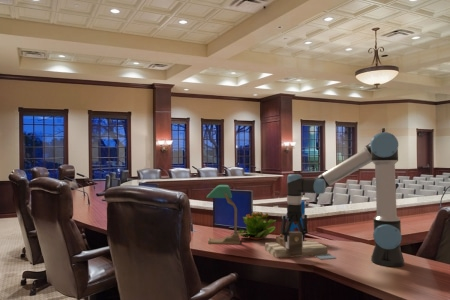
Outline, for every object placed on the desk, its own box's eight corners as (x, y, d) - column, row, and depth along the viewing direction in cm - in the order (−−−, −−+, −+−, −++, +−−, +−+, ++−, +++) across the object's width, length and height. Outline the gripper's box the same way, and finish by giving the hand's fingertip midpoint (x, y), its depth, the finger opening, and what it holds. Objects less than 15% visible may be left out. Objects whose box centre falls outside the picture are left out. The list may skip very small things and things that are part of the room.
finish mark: (336, 258, 185) (336, 257, 185) (320, 259, 183) (320, 258, 183) (328, 254, 192) (328, 253, 192) (313, 255, 190) (313, 254, 190)
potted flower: (245, 232, 247) (246, 207, 248) (279, 235, 239) (279, 209, 240) (234, 240, 224) (234, 212, 224) (271, 244, 216) (271, 215, 216)
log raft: (327, 254, 193) (327, 247, 193) (276, 257, 185) (276, 250, 186) (313, 247, 208) (313, 240, 208) (265, 250, 201) (265, 242, 201)
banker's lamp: (240, 245, 211) (240, 186, 211) (205, 245, 211) (206, 186, 212) (239, 239, 226) (240, 184, 227) (207, 239, 227) (207, 184, 228)
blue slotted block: (304, 242, 220) (304, 202, 220) (287, 241, 222) (287, 201, 223) (304, 238, 230) (304, 200, 231) (287, 237, 233) (287, 199, 233)
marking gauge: (303, 255, 183) (303, 233, 183) (290, 256, 181) (290, 233, 182) (285, 245, 204) (285, 225, 204) (274, 246, 202) (274, 226, 202)
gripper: (308, 202, 192) (308, 245, 191) (273, 203, 187) (273, 246, 187) (315, 204, 185) (314, 248, 184) (279, 205, 180) (279, 250, 179)
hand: (294, 247), depth 185 cm, fingers closed on marking gauge, 7 cm apart
